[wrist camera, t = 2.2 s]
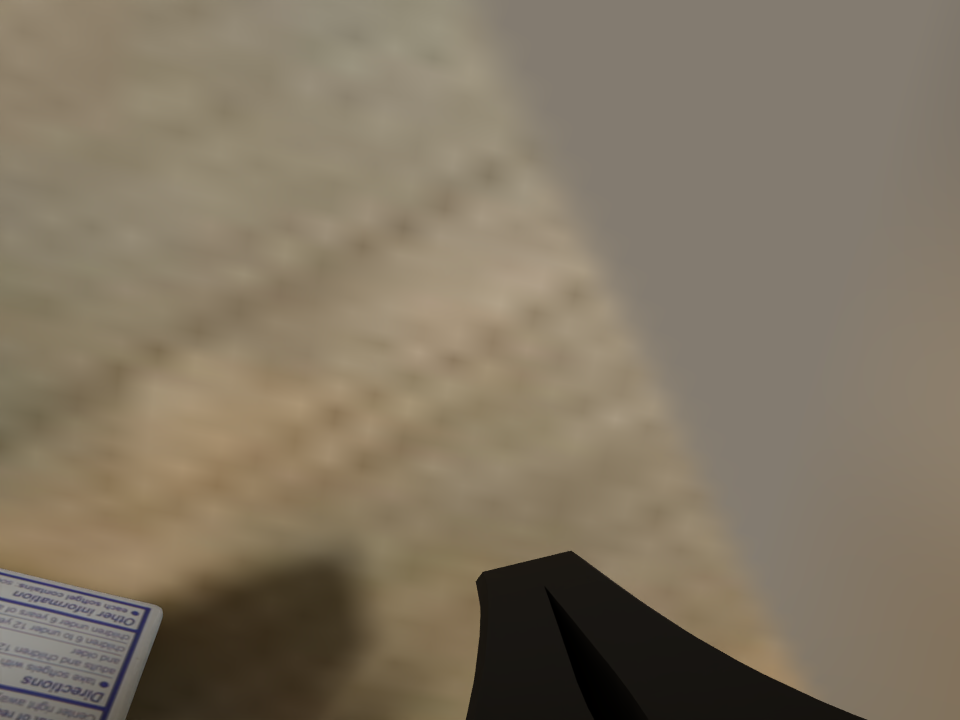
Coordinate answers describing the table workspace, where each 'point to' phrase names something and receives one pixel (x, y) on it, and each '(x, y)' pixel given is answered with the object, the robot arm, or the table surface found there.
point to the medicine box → (70, 650)
